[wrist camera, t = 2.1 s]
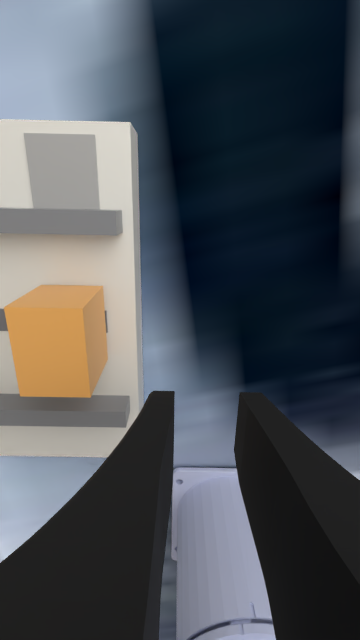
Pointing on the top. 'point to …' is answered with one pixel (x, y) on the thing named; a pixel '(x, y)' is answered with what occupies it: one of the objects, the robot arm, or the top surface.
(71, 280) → the panel
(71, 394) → the lever
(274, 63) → the top surface
